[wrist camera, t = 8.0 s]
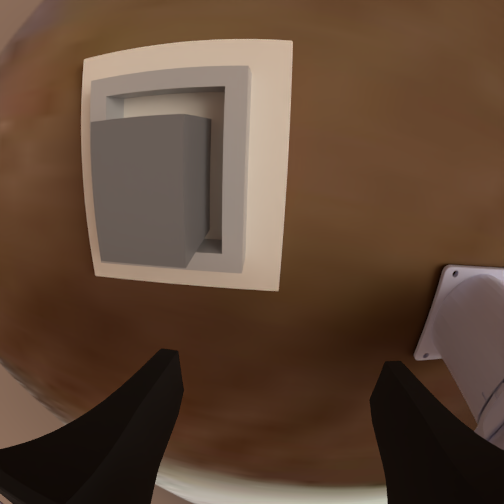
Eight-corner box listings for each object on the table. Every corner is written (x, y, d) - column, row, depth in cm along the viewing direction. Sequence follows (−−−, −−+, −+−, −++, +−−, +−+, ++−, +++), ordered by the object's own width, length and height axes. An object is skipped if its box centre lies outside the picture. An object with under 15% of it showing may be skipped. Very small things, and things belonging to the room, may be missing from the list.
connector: (211, 118, 15) (183, 113, 10) (209, 229, 17) (185, 268, 12) (139, 121, 15) (90, 121, 10) (142, 226, 17) (101, 260, 12)
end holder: (291, 45, 14) (295, 29, 11) (278, 283, 19) (278, 309, 16) (92, 61, 14) (65, 54, 11) (102, 269, 20) (80, 290, 17)
